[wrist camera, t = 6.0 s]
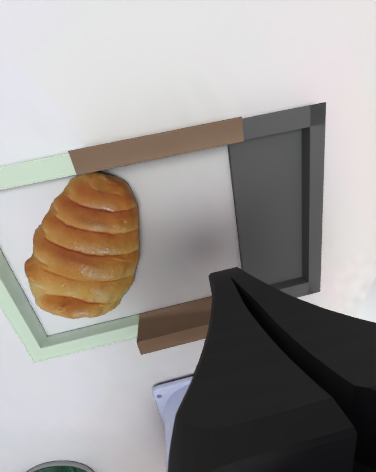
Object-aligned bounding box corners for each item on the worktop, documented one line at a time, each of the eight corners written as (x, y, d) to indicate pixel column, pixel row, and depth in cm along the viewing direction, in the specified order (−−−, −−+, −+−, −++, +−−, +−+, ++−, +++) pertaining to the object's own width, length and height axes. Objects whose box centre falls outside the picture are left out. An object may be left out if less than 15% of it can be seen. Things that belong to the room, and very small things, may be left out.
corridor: (245, 300, 20) (260, 324, 17) (143, 325, 19) (141, 354, 16) (225, 123, 15) (241, 116, 12) (85, 151, 14) (67, 150, 11)
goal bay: (143, 325, 19) (142, 336, 18) (41, 350, 19) (34, 363, 18) (85, 151, 14) (79, 151, 13) (-57, 179, 14) (-76, 182, 13)
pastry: (58, 154, 14) (27, 155, 11) (161, 189, 16) (164, 201, 12) (35, 280, 17) (3, 315, 13) (125, 300, 19) (119, 335, 15)
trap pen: (310, 283, 20) (320, 291, 19) (245, 300, 20) (251, 308, 19) (313, 105, 15) (326, 102, 14) (225, 123, 15) (231, 120, 14)
